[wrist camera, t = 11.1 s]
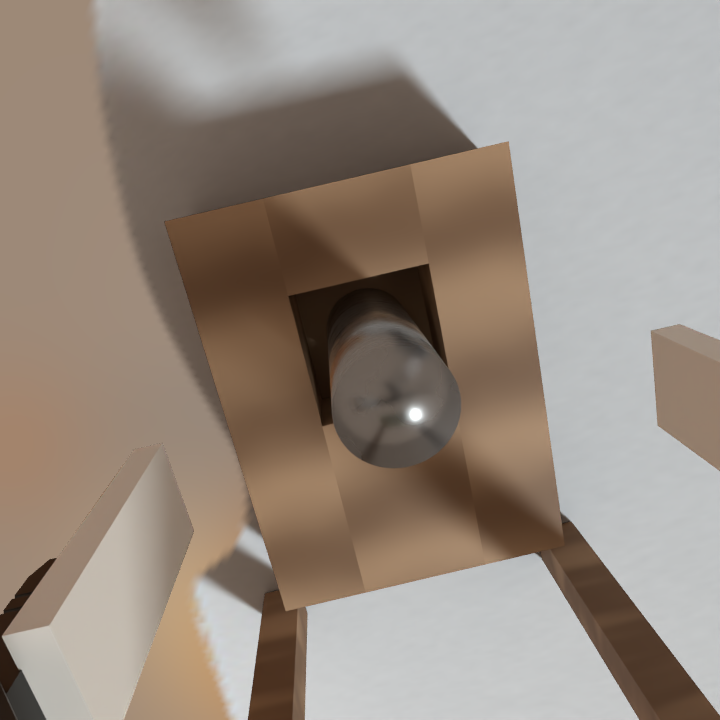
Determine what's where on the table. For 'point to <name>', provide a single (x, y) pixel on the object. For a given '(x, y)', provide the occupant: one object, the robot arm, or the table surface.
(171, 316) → the table surface
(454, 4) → the table surface
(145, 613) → the robot arm
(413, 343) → the peg
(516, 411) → the socket stand
